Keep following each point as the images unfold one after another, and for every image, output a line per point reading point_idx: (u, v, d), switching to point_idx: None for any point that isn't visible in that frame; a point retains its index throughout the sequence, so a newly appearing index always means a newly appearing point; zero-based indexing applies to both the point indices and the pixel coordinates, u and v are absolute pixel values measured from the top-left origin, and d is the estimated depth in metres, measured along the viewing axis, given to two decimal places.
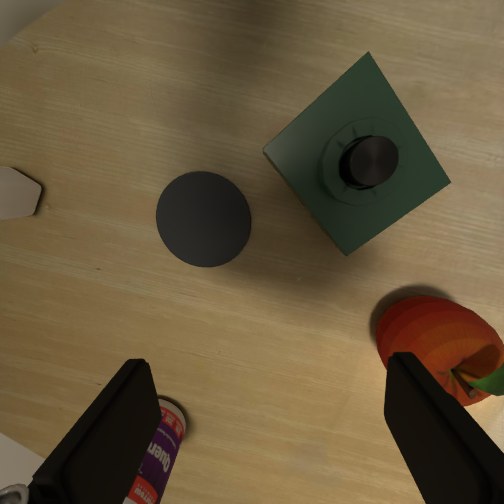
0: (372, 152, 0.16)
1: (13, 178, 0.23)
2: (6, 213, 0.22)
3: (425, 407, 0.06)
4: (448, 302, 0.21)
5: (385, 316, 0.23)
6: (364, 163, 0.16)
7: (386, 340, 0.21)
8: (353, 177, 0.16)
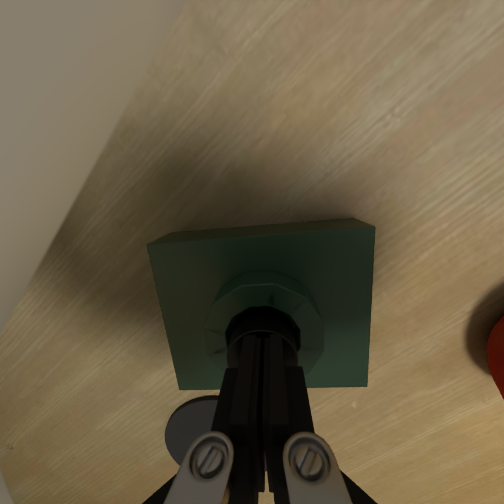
0: None
1: None
2: None
3: (263, 374, 0.08)
4: None
5: (496, 384, 0.14)
6: None
7: None
8: None
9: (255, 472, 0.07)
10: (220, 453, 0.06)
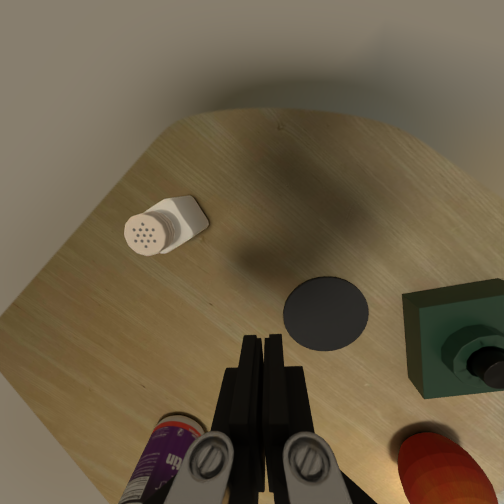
0: None
1: (200, 216, 0.24)
2: None
3: (263, 374, 0.08)
4: (471, 459, 0.27)
5: (419, 444, 0.29)
6: (496, 373, 0.21)
7: (418, 467, 0.28)
8: (483, 377, 0.22)
9: (255, 472, 0.07)
10: (220, 453, 0.06)
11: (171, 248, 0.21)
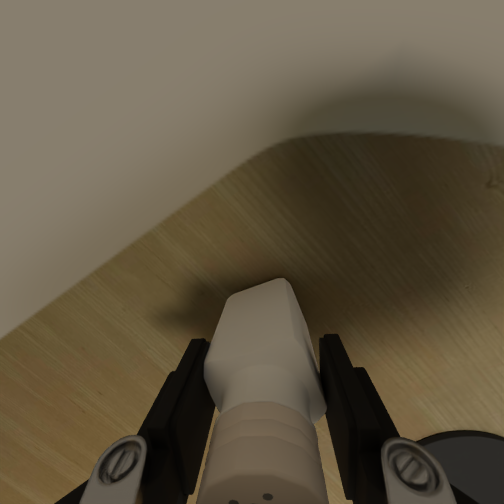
0: None
1: (306, 329, 0.12)
2: None
3: (331, 375, 0.07)
4: None
5: None
6: None
7: None
8: None
9: (180, 475, 0.07)
10: (134, 457, 0.06)
11: None
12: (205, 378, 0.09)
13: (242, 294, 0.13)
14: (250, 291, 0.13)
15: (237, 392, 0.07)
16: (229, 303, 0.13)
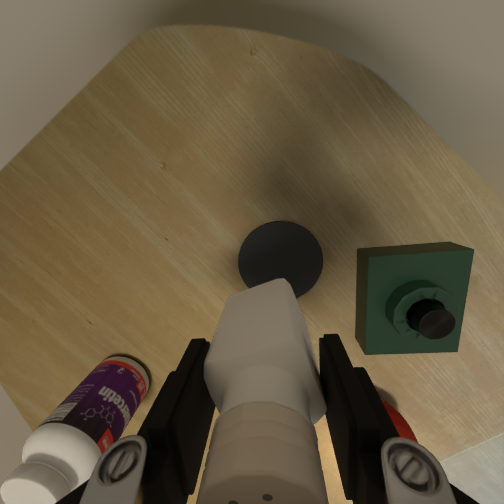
0: (440, 319, 0.21)
1: (306, 329, 0.12)
2: None
3: (331, 375, 0.07)
4: (403, 420, 0.28)
5: None
6: (431, 322, 0.22)
7: None
8: (418, 325, 0.22)
9: (180, 475, 0.07)
10: (134, 457, 0.06)
11: None
12: (205, 378, 0.09)
13: (242, 294, 0.13)
14: (250, 292, 0.13)
15: (237, 392, 0.07)
16: (229, 303, 0.13)
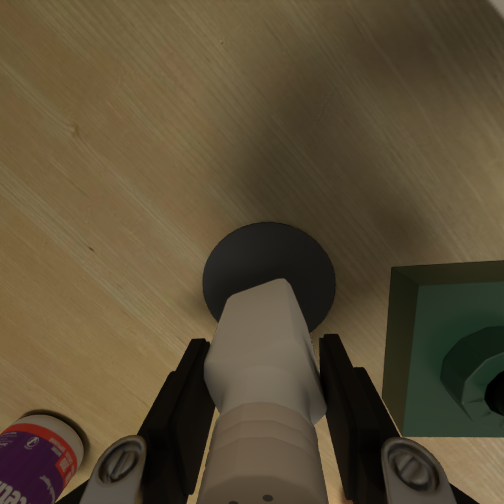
0: None
1: (306, 330, 0.12)
2: None
3: (331, 375, 0.07)
4: None
5: None
6: None
7: None
8: None
9: (180, 475, 0.07)
10: (134, 457, 0.06)
11: None
12: (205, 378, 0.09)
13: (242, 295, 0.13)
14: (250, 292, 0.13)
15: (238, 393, 0.07)
16: (229, 304, 0.13)
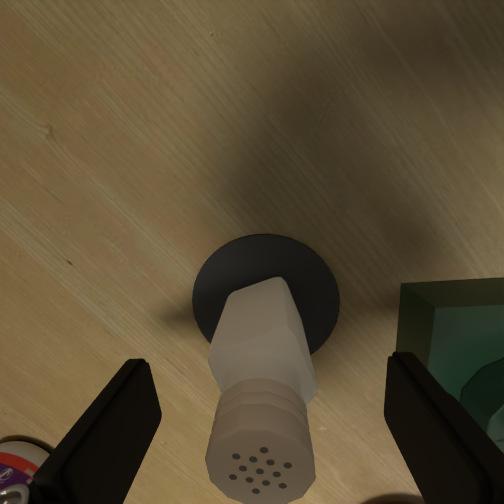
0: None
1: (300, 323, 0.14)
2: None
3: (425, 407, 0.06)
4: None
5: None
6: None
7: None
8: None
9: None
10: None
11: None
12: (210, 363, 0.10)
13: (242, 291, 0.14)
14: (249, 289, 0.14)
15: (238, 372, 0.09)
16: (230, 299, 0.14)
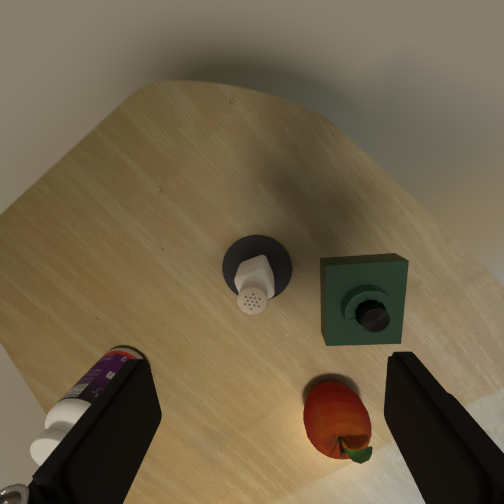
0: (378, 316, 0.27)
1: (272, 274, 0.31)
2: None
3: (425, 407, 0.06)
4: (359, 400, 0.34)
5: (322, 387, 0.35)
6: (371, 318, 0.27)
7: (316, 402, 0.34)
8: (361, 321, 0.27)
9: None
10: None
11: None
12: (235, 282, 0.27)
13: (246, 261, 0.32)
14: (249, 260, 0.32)
15: (246, 281, 0.26)
16: (241, 264, 0.31)
